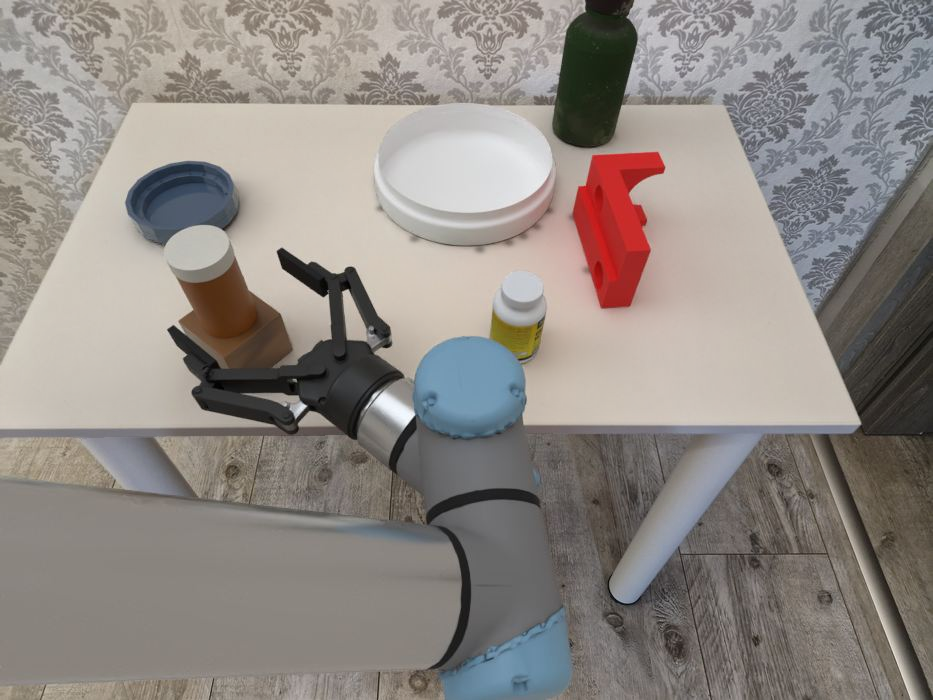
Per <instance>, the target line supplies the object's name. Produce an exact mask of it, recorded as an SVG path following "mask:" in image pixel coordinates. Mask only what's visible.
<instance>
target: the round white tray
mask: <svg viewBox="0 0 933 700" xmlns="http://www.w3.org/2000/svg"><path fill="white" fill-rule="evenodd" d="M373 177H374V187H375V193H376V196H377V200H378V202H379V204H380V206H381V208H382V210H383V211H384V212H385V213H386V215H387V216H388V218H390V219H391V221H393V223H395V224H397V225H398V226H399V227H400V228H402V229H404V230H405V231H406V232H409V233H411V234H412V235H414V236H417V237H419V238H421V239H424V240H427V241H431V242H435V243H440V244H443V245H452V246H465V247H466V246H483V245H489V244H495V243H499V242H502V241H505V240H508V239H511V238H514V237H516V236H518V235H520V234H522V233H524V232H526V231H527V230H528V229H530V228H532V227H533V226H534V225H535V224H536V223H538V222H539V220H540V219H542V217H543V216H544V215H545V213H546V212H547V210H548V209H549V207H550V205H551V202H552V199H553V195H554V191H555V190H554V189H555V185H556V184H555V183H556V178H557V168H556V162H555V159H554V156H553V153H552V149H551V146H550V144H549V142H548V140H547V138H546V137H545V135H544V134H543V132H541V131H540V129H539V128H538V127H536V126H535V124H533V123H532V122H531V121H529V120H528V119H526V118H524V117H522V116H521V115H518V114H517V113H514V112H512V111H510V110H507V109H504V108H501V107H497V106H493V105H489V104H483V103H475V102H451V103H443V104H442V103H441V104H436V105H433V106H428V107H425V108H421V109H419V110H416V111H414V112H412V113H410V114H408V115H406V116H404V117H403V118H401V119H400V120H398V121H397V122H396V123H395V124H393V125H392V126H391V127H390V128H389V129H388V130H387V131H386V133H385V134H384V136H383V137H382V139H381V141H380V144H379V147H378V150H377V152H376V154H375V158H374V162H373Z"/></svg>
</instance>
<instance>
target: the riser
mask: <svg viewBox="0 0 933 700" xmlns="http://www.w3.org/2000/svg"><path fill="white" fill-rule="evenodd" d="M249 292H250V294H251V297H252V299H253V302H254V304H255V307H256V310H257V316H256V319H255V322H254V323H253V325H252V326H251V327H250V328H249V329H248V330H247V331H245V332H244V333H242V334H240V335H238V336H235V337H231V338H217V337H214V336H211V335H209V334H208V333H207V332H206V331H205V330H204V329H203V327H202V325H201V323H200V321H199V319H198V317H197V316H196V314H195V312H194V310H193V309H192V310H191V311H190V312H189V313H187V314H186V315H184V316H183V317H182V318H180V319H179V320H178V321H177V322H178V324H179V325H180V327H181V329H182V332H183V333H184V334H185V335H186V336H188V337H189V338H190V339H191V340H192V341H194V342H195V343H196V344H197V345H198V346H200V347H201V348H202V349H203V350H205V351H206V352H207V353H208V354H209V355H211V356H212V357H213V358H214V359H215V360H217V362H218V364H219V366H220V368H221V369H246V368H274V366H275V365H277V363H279V362H280V361H281V360H283V359H284V358H285V357H287V356H288V355H289V354H290V353H291V352H292V351H293V350H294V347H293V344H292V341H291V339H290V335H289V333H288V331H287V327H286V325H285V322H284V319H283V316H282V313H281V312H280V311H278V310H277V309H275V308H274V307H273V306H272V305H270V304H268V302H266V301H264V300H263V299H261V298H260V297H259V296H258V295H256V294H255V293H253V292H252V291H251V290H249Z"/></svg>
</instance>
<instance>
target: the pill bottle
mask: <svg viewBox="0 0 933 700" xmlns="http://www.w3.org/2000/svg"><path fill="white" fill-rule="evenodd" d="M544 287H545V286H544V282H543V281H542V279H541V278H540V277H539V276H538V275H537V274H535V273H533V272H532V271H528V270H514V271H511V272H509V273H508V274H506V275H505V276H504V278H503V279H502V281H501V284H500V288H499V289H498V290H497V291H496V293H495V295H494V296H493V300H492V308H491V319H490V329H489V339H491V340H493V341H496V342H498V343H500V344H501V345H503V346H505V347H506V348H507V349H509V350H510V351H511V352H512V353H513V354H514V355H515V357H516V358H517V359H518V361H519V362H520V364H525V363H527V362H530V360H532V359H533V358H534V357H536V355H537V353H538V351H539V349H540V346H541V345H540V344H541V340H542V334H543V330H544V324H545V321H546V315H547V310H548V303H547V299H546V297H545V295H544V292H545V291H544V289H545V288H544Z"/></svg>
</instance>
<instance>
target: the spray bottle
mask: <svg viewBox="0 0 933 700" xmlns="http://www.w3.org/2000/svg"><path fill="white" fill-rule="evenodd" d="M584 2H585V6H584V10H585V11H584V12H582V13H580V14H579V15H578V16H577V17H575V18H574V19H573V20H572V21H571V22H570V23H569V25H568V26H567V28H566V31H565V36H564V37H565V38H564V44H563V50H562V57H561V62H560V63H561V64H560V69H559V77H558V82H557V83H558V84H557V88H556V89H557V90H556V97H555V103H554V109H553V114H552V123H551V124H552V125H551V126H552V130H553V133H554V134H556V135H557V136H558V137H559V138H560V139H561V140H563V142H566V143H569V144H571V145H574V146H578V147H597V146H600V145H603V144H606V143H607V142H609V141H610V140H611V139H612V138H613V137H614V135H615V133H616V129H617V125H618V121H619V117H620V113H621V109H622V105H623V103H624V102H623V101H624V97H625V95H626V94H625V93H626V89H627V86H628V81H629V78H630V73H631V70H632V65H633V61H634V58H635V54H636V50H637V46H638V41H639V37H638V31H637V29H636V26H635V25H634V23H633V21H632V20H631V19H629V18H628V16H629V15H630V12H631V9H633V8H634V3H635V0H584Z"/></svg>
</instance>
